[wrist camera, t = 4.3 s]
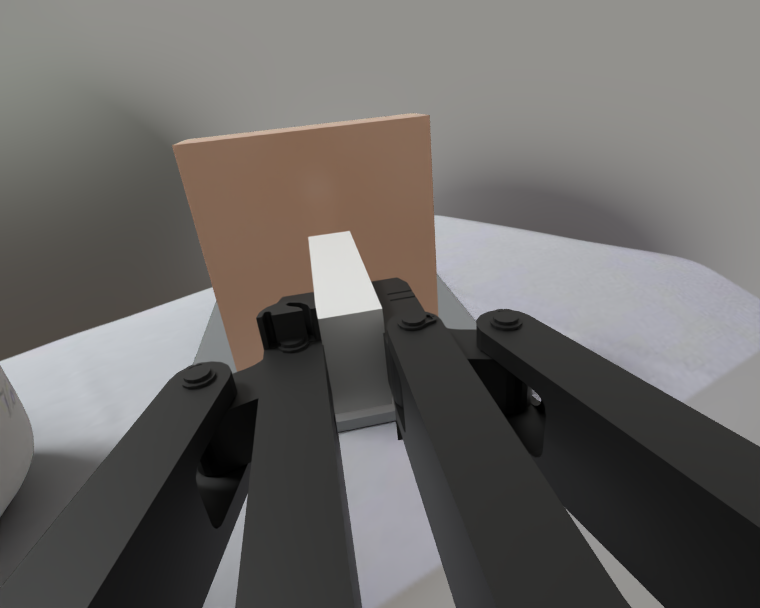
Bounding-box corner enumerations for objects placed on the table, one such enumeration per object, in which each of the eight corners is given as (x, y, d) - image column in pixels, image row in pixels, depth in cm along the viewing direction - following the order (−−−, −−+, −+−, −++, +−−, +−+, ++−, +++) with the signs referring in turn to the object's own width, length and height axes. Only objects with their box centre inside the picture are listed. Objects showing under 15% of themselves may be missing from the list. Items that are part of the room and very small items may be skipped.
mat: (162, 467, 21) (158, 457, 20) (219, 304, 37) (217, 298, 36) (526, 394, 23) (527, 384, 22) (429, 271, 39) (429, 264, 38)
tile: (249, 416, 22) (172, 145, 17) (254, 383, 25) (188, 138, 19) (441, 380, 23) (429, 115, 18) (426, 352, 26) (411, 113, 20)
